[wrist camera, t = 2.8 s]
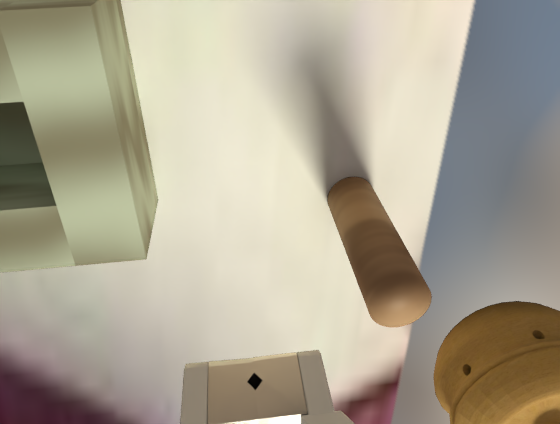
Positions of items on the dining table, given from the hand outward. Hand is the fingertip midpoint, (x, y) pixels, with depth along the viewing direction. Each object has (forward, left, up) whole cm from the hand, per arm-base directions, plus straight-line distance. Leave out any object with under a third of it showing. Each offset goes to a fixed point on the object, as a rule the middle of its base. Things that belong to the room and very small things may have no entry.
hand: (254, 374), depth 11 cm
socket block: (0, +11, -19) cm, 22 cm away
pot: (-21, -19, -19) cm, 34 cm away
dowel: (-7, -7, -19) cm, 22 cm away
